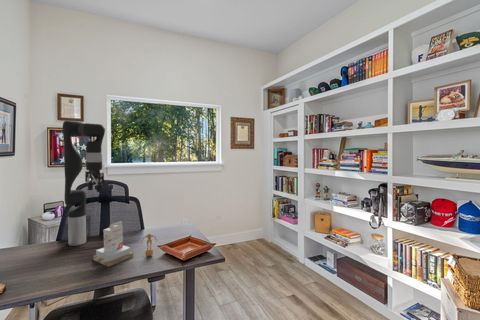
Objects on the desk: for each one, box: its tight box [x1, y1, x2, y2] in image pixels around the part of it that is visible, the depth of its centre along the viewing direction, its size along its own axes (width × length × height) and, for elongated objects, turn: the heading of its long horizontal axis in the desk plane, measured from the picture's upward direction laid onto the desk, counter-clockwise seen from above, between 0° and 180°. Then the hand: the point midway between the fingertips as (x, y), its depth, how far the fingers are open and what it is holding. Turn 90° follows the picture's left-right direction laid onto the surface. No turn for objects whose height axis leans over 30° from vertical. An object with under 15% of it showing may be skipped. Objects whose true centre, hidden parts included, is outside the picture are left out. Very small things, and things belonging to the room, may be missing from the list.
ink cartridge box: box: [102, 220, 124, 252], centre depth 133 cm, size 9×5×15 cm, turn 160°
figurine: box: [140, 233, 158, 257], centre depth 138 cm, size 8×6×12 cm
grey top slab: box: [95, 244, 131, 261], centre depth 134 cm, size 12×12×3 cm
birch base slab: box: [92, 251, 134, 267], centre depth 134 cm, size 14×14×3 cm
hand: (94, 191), depth 134 cm, fingers open, 8 cm apart
